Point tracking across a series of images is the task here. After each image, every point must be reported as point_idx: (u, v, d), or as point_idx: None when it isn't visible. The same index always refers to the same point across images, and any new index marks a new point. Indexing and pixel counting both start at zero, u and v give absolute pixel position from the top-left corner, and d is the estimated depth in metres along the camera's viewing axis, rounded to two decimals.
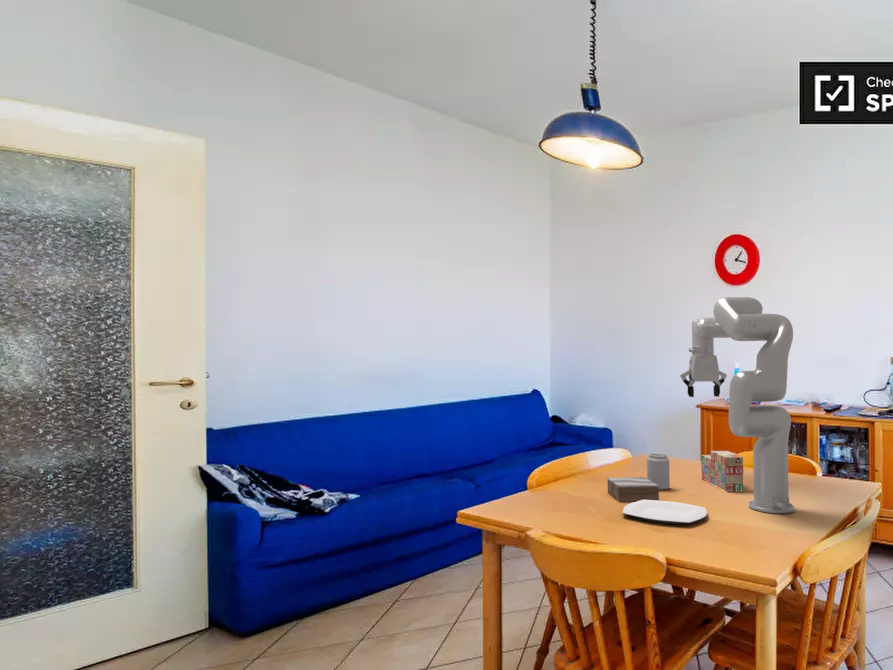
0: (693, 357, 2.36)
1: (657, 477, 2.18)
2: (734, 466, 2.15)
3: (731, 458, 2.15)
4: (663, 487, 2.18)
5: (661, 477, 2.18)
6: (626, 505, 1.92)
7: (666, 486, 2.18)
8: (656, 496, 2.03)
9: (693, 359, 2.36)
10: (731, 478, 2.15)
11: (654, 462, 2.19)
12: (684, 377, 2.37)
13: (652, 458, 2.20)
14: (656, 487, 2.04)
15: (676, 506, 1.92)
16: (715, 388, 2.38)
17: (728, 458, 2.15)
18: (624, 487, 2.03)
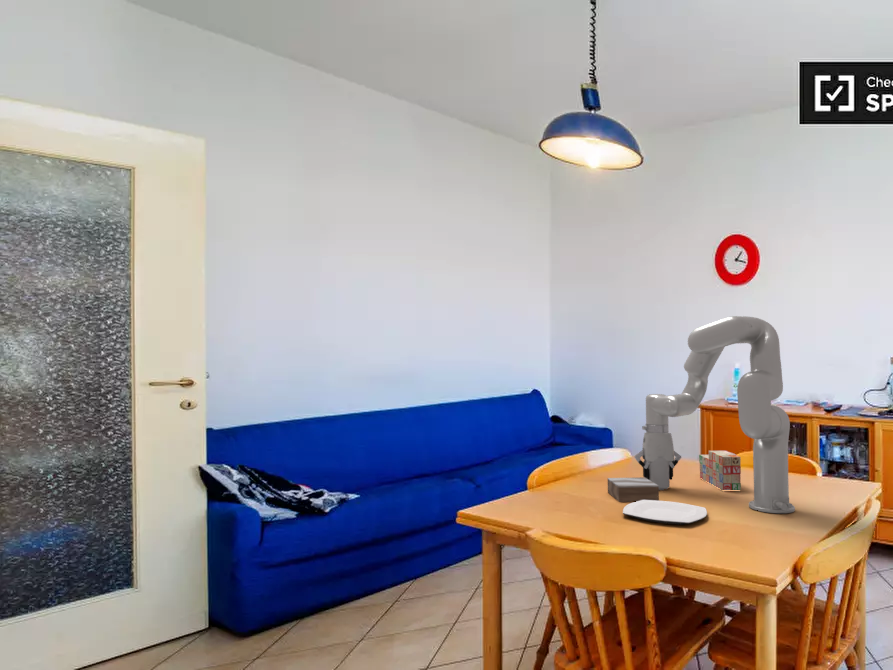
0: (646, 436, 2.20)
1: (657, 476, 2.18)
2: (731, 466, 2.16)
3: (728, 458, 2.16)
4: (663, 487, 2.18)
5: (661, 477, 2.18)
6: (626, 505, 1.92)
7: (666, 486, 2.18)
8: (656, 496, 2.03)
9: (646, 438, 2.20)
10: (729, 478, 2.15)
11: (654, 461, 2.19)
12: (638, 459, 2.21)
13: None
14: (656, 487, 2.04)
15: (676, 506, 1.92)
16: None
17: (725, 458, 2.16)
18: (624, 487, 2.03)
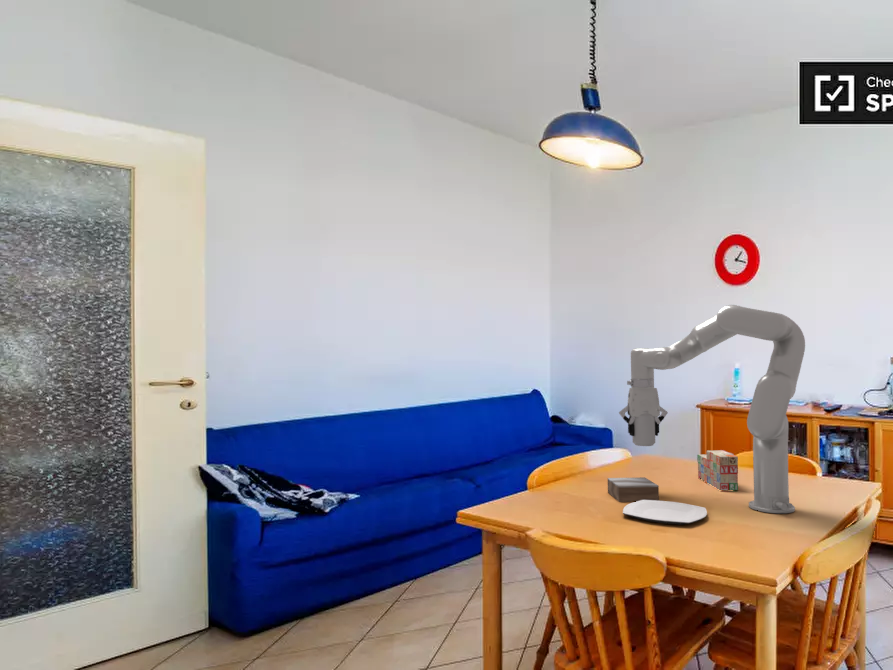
0: (631, 390, 2.14)
1: (642, 432, 2.12)
2: (729, 465, 2.16)
3: (726, 457, 2.16)
4: (648, 443, 2.12)
5: (646, 433, 2.12)
6: (626, 505, 1.92)
7: (651, 442, 2.12)
8: (656, 496, 2.03)
9: (631, 393, 2.14)
10: (726, 478, 2.16)
11: (639, 417, 2.13)
12: (623, 414, 2.15)
13: None
14: (656, 487, 2.04)
15: (676, 506, 1.92)
16: None
17: (723, 457, 2.16)
18: (624, 487, 2.03)
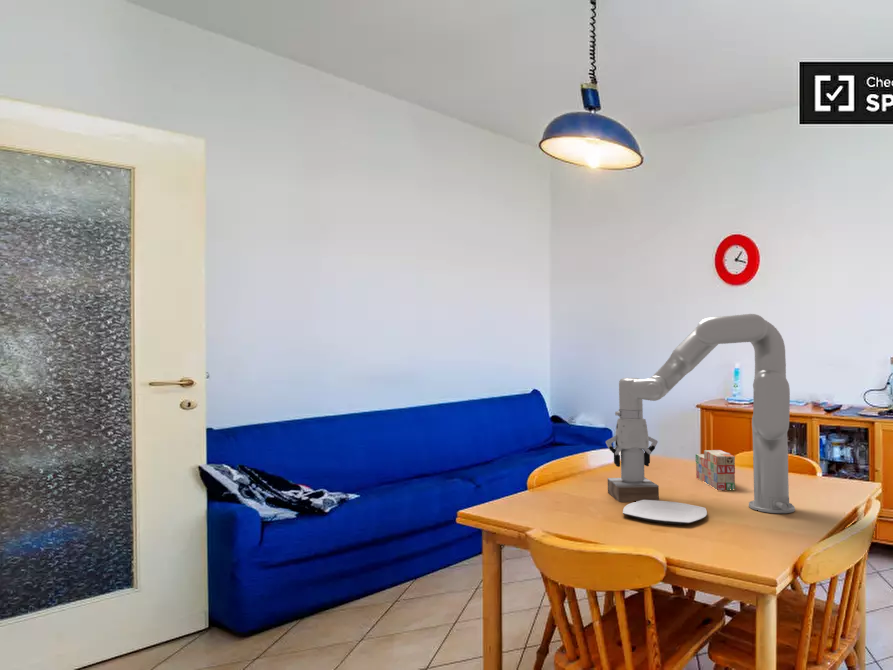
0: (619, 422, 2.08)
1: (631, 469, 2.06)
2: (726, 465, 2.17)
3: (723, 457, 2.17)
4: (637, 480, 2.06)
5: (635, 470, 2.06)
6: (626, 505, 1.92)
7: (640, 479, 2.07)
8: (656, 496, 2.03)
9: (619, 424, 2.08)
10: (723, 477, 2.17)
11: (628, 453, 2.07)
12: (609, 444, 2.09)
13: (626, 450, 2.08)
14: (656, 487, 2.04)
15: (676, 506, 1.92)
16: (645, 456, 2.10)
17: (720, 457, 2.17)
18: (624, 487, 2.03)
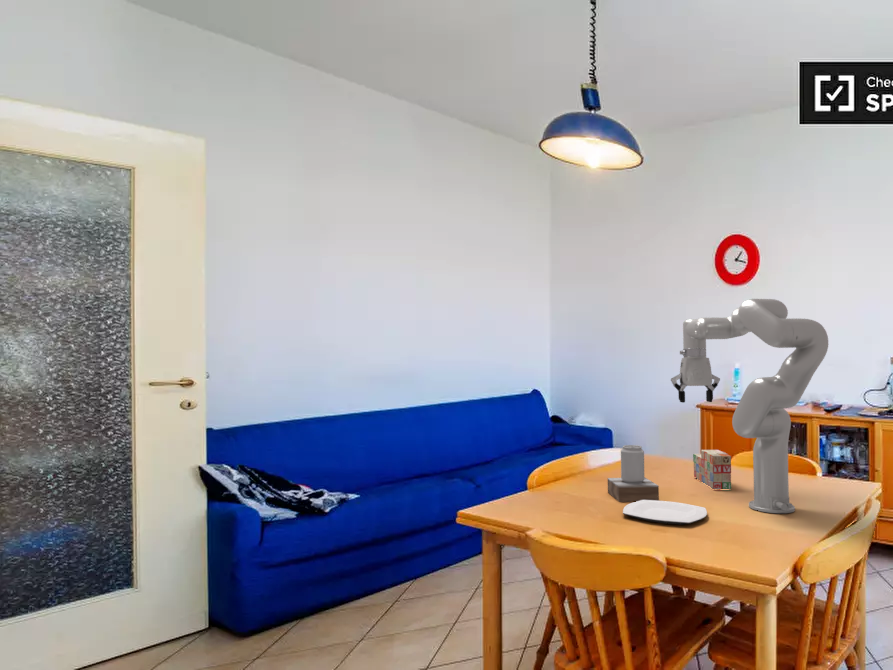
0: (684, 360, 2.21)
1: (631, 469, 2.07)
2: (722, 465, 2.17)
3: (719, 457, 2.18)
4: (637, 480, 2.06)
5: (635, 470, 2.06)
6: (626, 505, 1.92)
7: (640, 479, 2.07)
8: (656, 496, 2.03)
9: (684, 362, 2.21)
10: (719, 477, 2.17)
11: (628, 453, 2.07)
12: (675, 381, 2.22)
13: (626, 450, 2.08)
14: (656, 487, 2.04)
15: (676, 506, 1.92)
16: (708, 393, 2.23)
17: (716, 457, 2.18)
18: (624, 487, 2.03)
